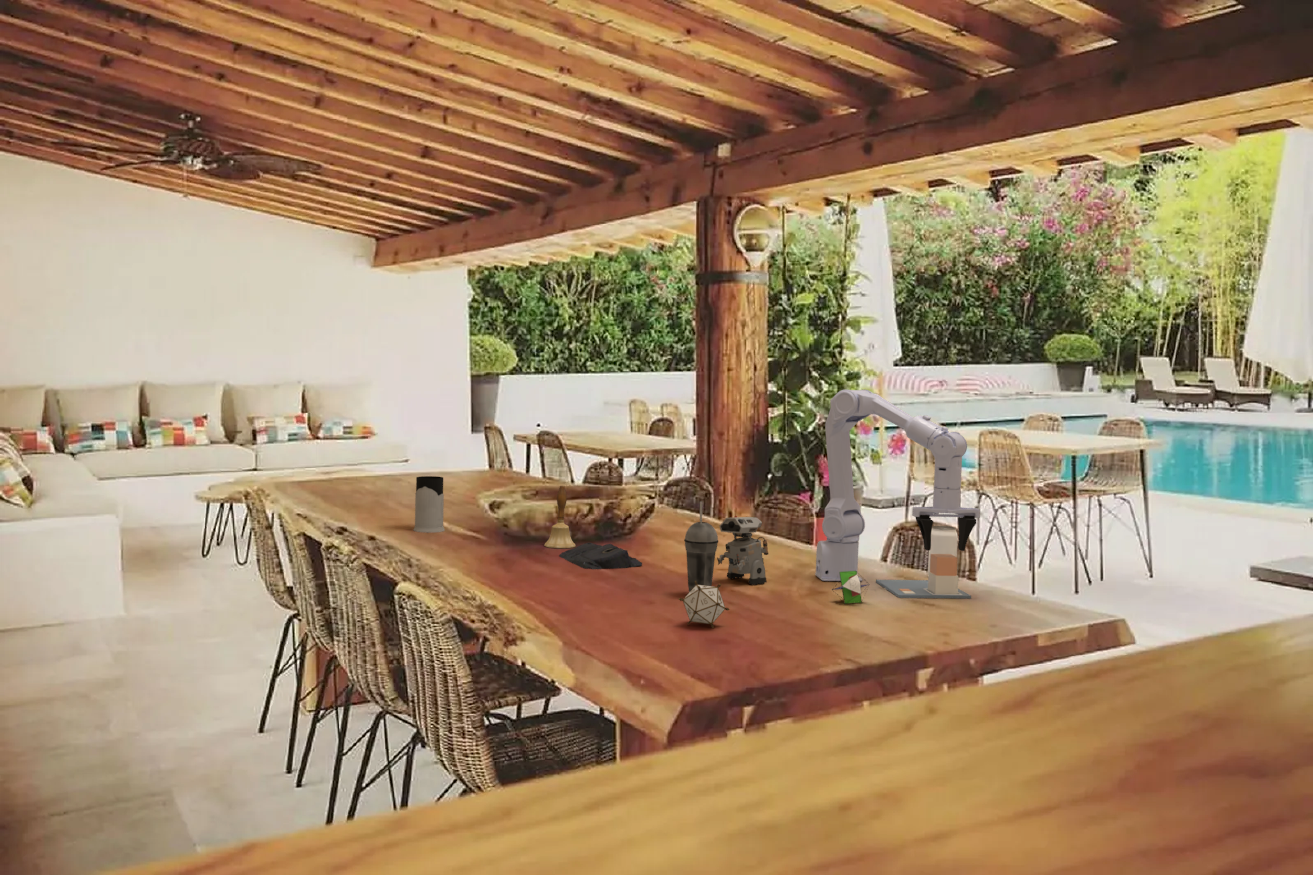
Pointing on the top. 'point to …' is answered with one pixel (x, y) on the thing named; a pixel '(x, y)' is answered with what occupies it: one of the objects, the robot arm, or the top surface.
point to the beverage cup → (700, 552)
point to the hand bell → (560, 525)
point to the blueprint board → (916, 589)
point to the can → (943, 541)
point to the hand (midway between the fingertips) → (944, 549)
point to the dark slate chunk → (600, 557)
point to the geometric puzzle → (850, 587)
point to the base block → (942, 584)
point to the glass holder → (429, 504)
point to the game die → (704, 604)
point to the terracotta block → (943, 565)
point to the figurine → (744, 549)
